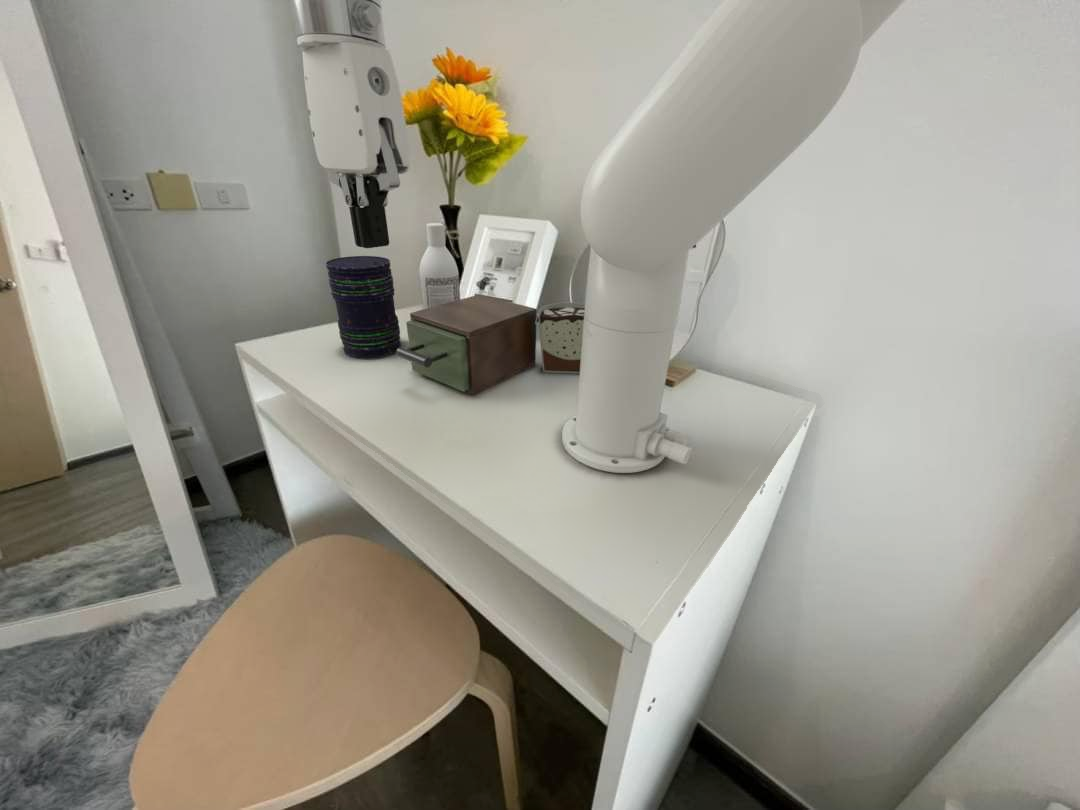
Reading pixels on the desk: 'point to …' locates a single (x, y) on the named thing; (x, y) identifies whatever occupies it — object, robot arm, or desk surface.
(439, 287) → the bath foam
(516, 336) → the cabinet
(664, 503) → the desk surface
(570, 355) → the food container
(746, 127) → the robot arm
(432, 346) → the drawer
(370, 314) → the storage jar
